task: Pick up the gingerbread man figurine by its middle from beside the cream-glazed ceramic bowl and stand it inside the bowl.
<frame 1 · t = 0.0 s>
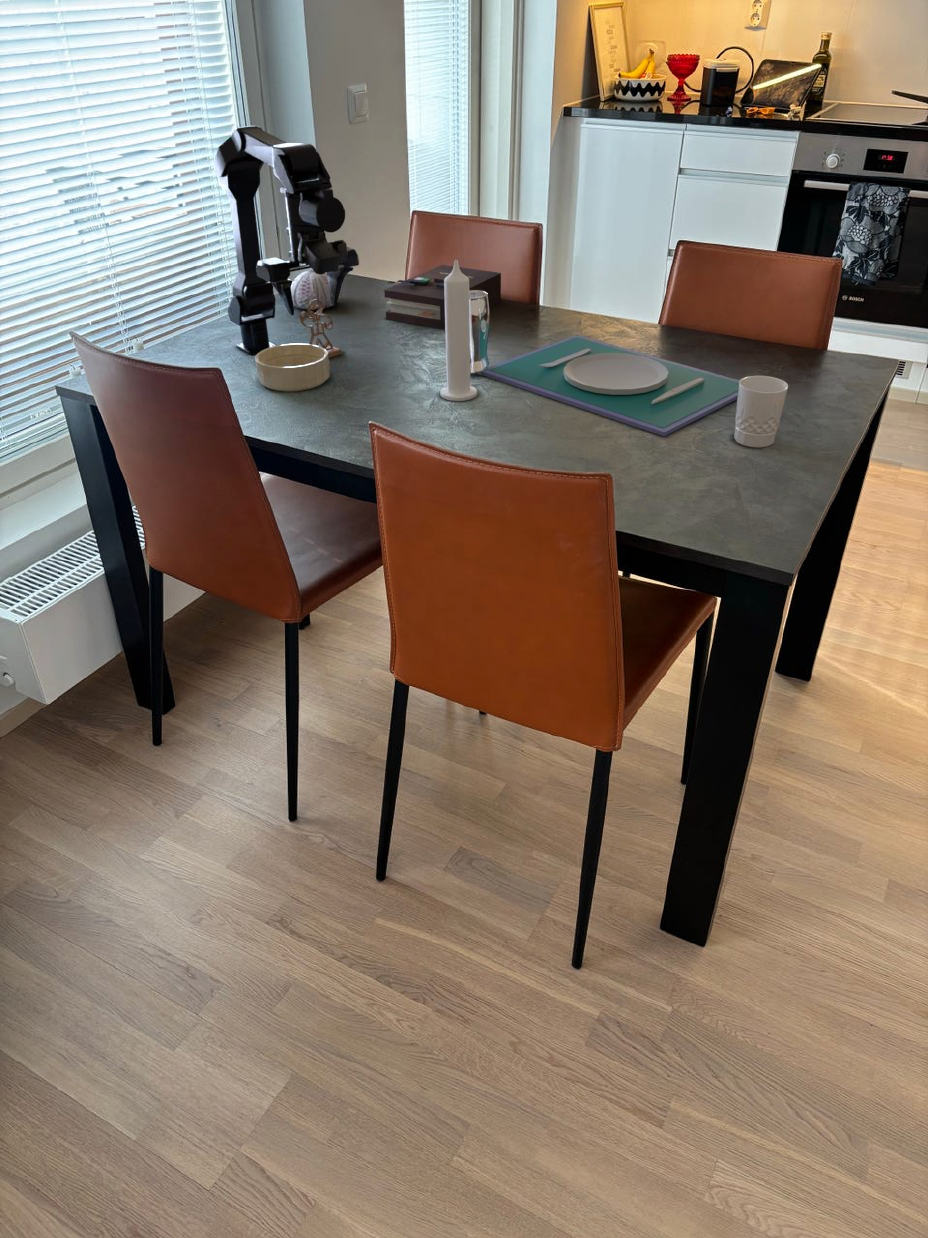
hand: (313, 309, 178), 15 cm above the table, tool pointing down, fingers open, 9 cm apart
candle: (458, 395, 181), on the table
white cup: (753, 440, 162), on the table
bowl: (294, 379, 189), on the table
gingerbread man figurine: (320, 357, 200), on the table
beer glass: (475, 370, 191), on the table, touching place mat
sea urchin shell: (315, 305, 231), on the table
place mat: (614, 382, 185), on the table, touching beer glass
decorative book: (444, 310, 226), on the table
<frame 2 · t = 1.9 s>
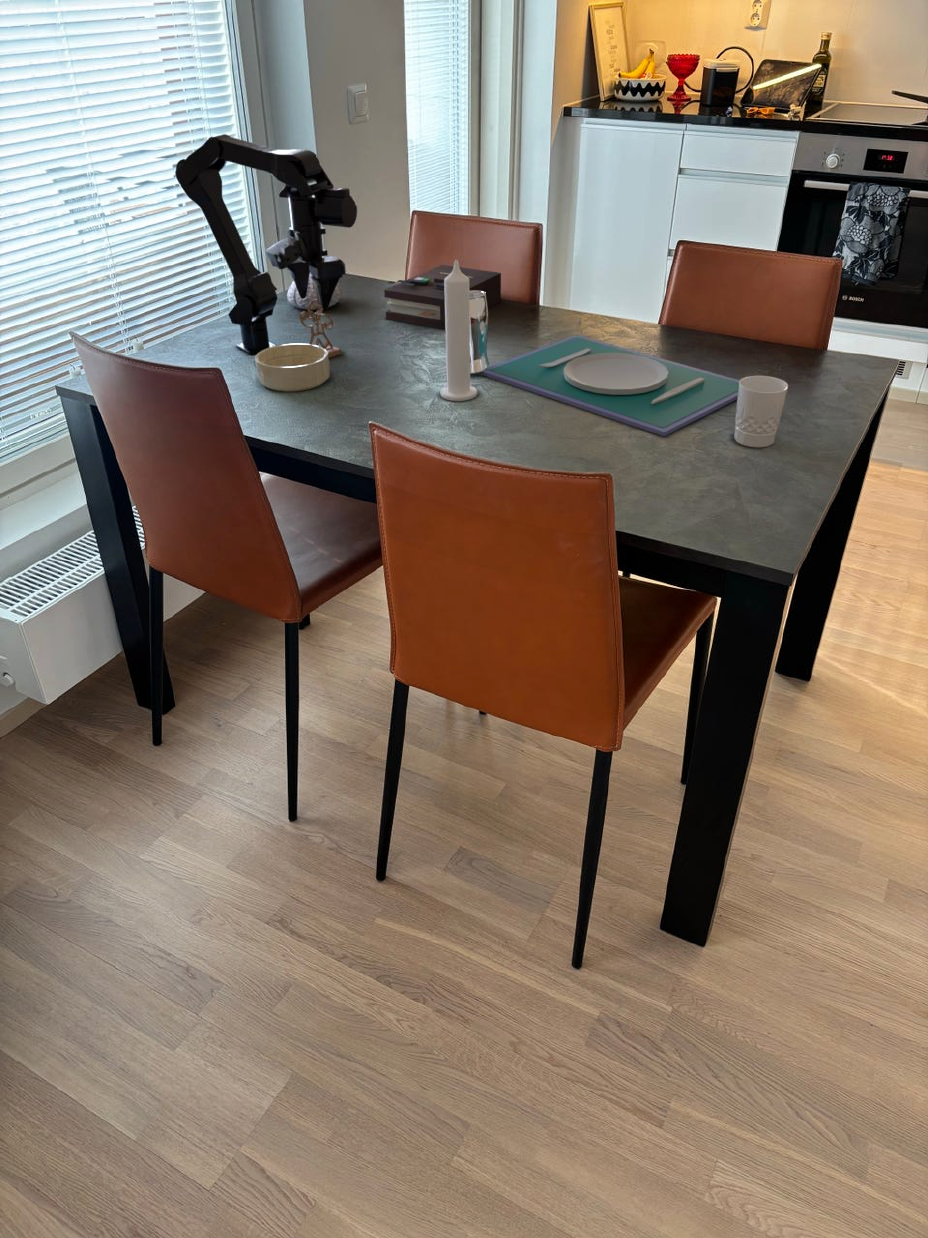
hand: (314, 303, 193), 11 cm above the table, tool pointing down, fingers open, 9 cm apart
beer glass: (475, 371, 191), on the table, touching place mat
everything else where it was.
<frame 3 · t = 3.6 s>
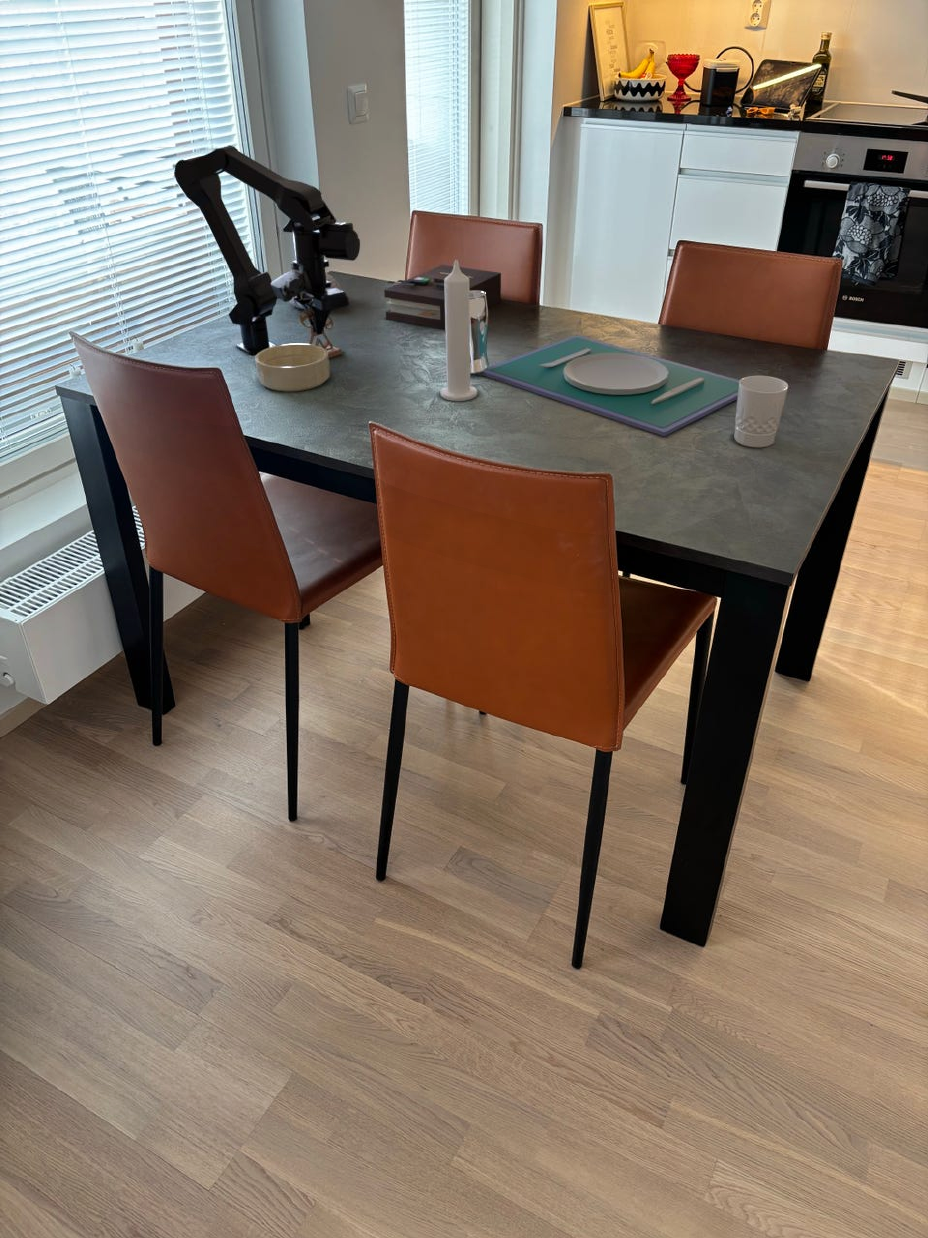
hand: (317, 333, 197), 5 cm above the table, tool pointing down, fingers closed on gingerbread man figurine
gingerbread man figurine: (320, 357, 200), on the table, touching gripper
everything else where it was.
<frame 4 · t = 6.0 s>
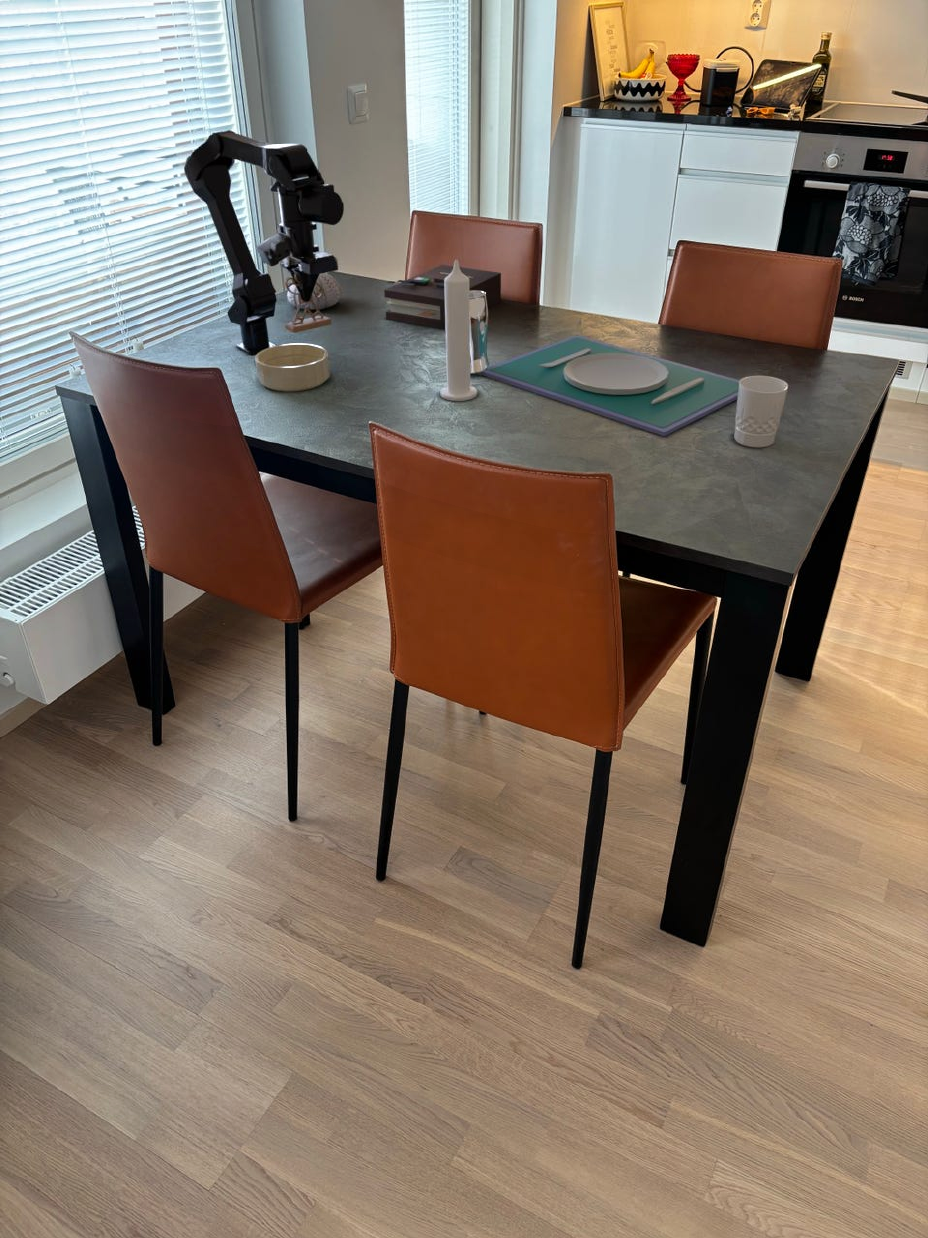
hand: (305, 300, 189), 13 cm above the table, tool pointing down, fingers closed on gingerbread man figurine
gingerbread man figurine: (308, 326, 192), point 8 cm above the table, touching gripper
everything else where it was.
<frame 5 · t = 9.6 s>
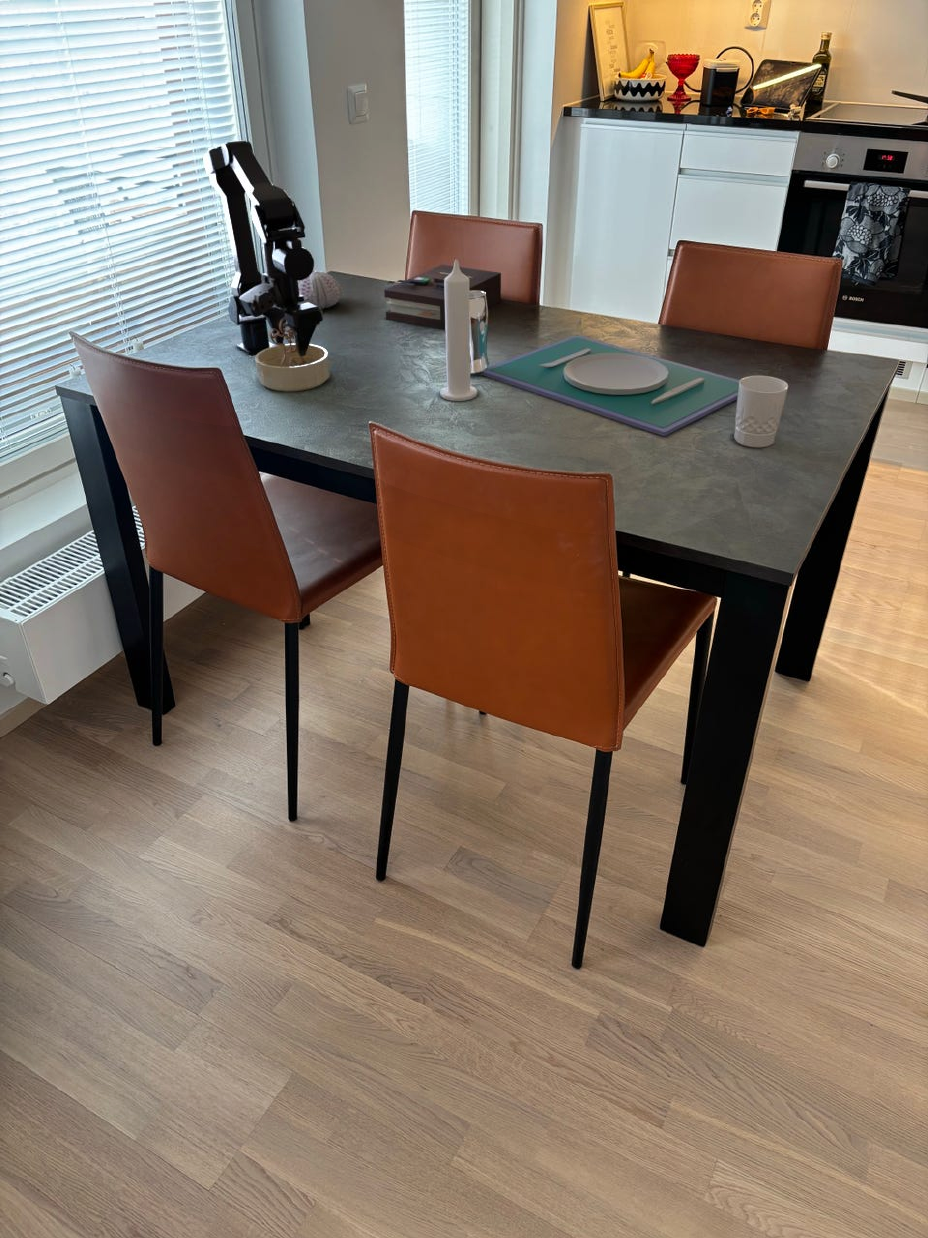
hand: (291, 349, 185), 6 cm above the table, tool pointing down, fingers open, 9 cm apart
gingerbread man figurine: (294, 377, 189), resting on bowl
everything else where it was.
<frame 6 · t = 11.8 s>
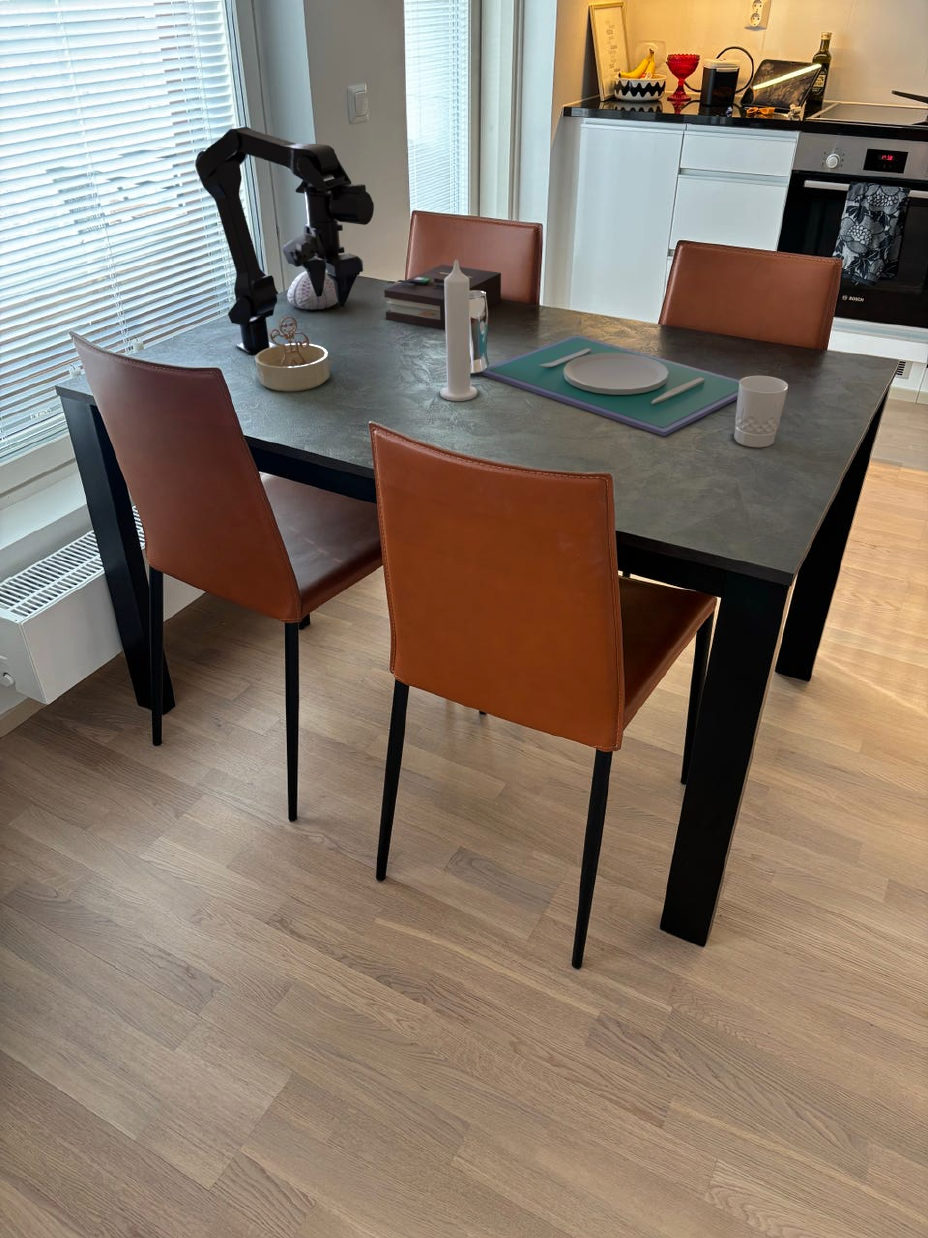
hand: (330, 301, 189), 13 cm above the table, tool pointing down, fingers open, 9 cm apart
nothing on the table moved.
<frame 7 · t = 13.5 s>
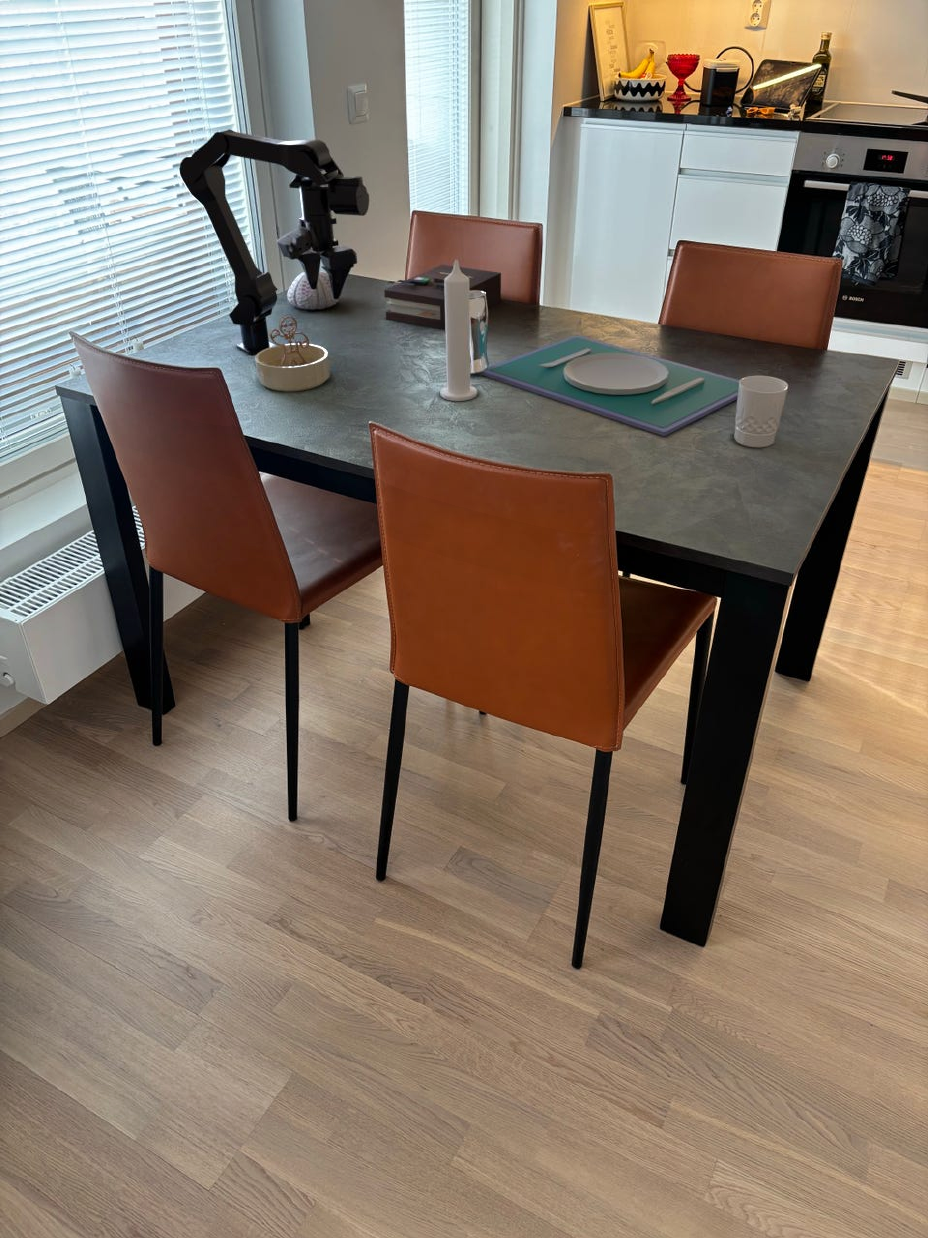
hand: (324, 293, 193), 13 cm above the table, tool pointing down, fingers open, 9 cm apart
nothing on the table moved.
at the end: gingerbread man figurine inside the target area in the bowl (0.1 cm from its centre), point 0.4 cm above the bowl's base; the gripper is holding nothing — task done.
